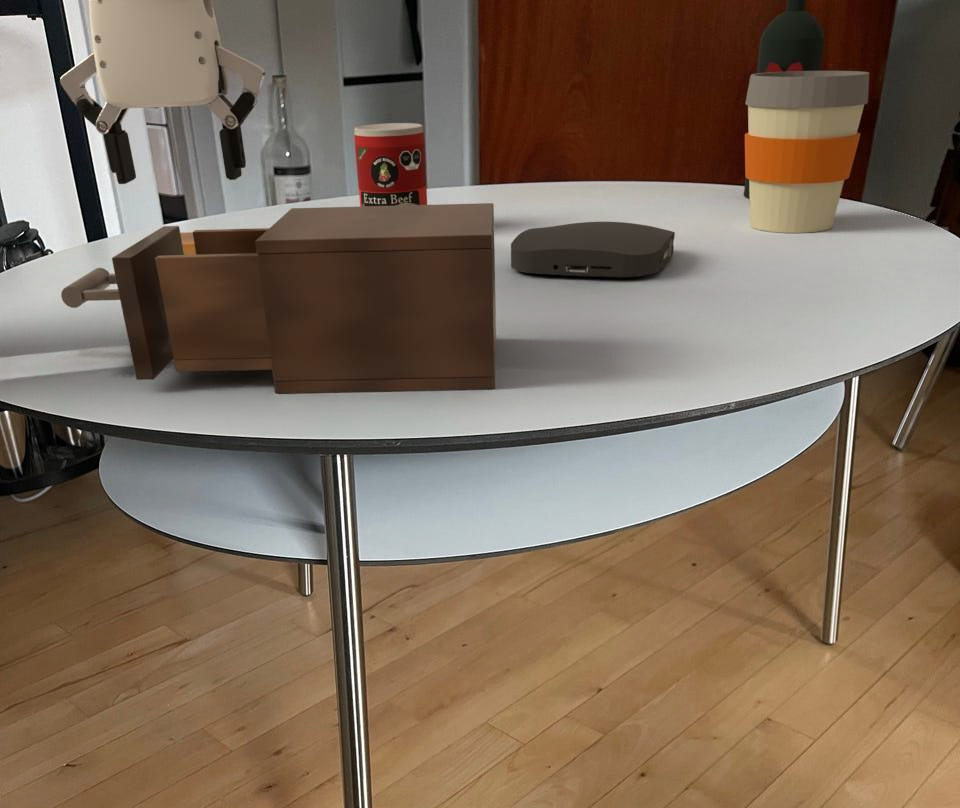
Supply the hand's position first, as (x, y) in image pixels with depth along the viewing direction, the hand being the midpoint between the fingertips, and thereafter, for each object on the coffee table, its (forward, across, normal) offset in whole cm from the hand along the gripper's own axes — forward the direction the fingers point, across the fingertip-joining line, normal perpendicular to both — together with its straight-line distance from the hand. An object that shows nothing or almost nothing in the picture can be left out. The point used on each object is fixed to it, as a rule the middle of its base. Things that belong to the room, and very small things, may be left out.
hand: (180, 179), depth 91 cm
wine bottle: (+11, -64, -46) cm, 79 cm away
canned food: (+10, -16, -27) cm, 33 cm away
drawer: (+8, -8, +26) cm, 29 cm away
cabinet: (+9, -21, +26) cm, 35 cm away
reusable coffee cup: (+10, -61, -25) cm, 67 cm away
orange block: (+9, 0, 0) cm, 9 cm away
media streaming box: (+10, -37, -7) cm, 39 cm away
